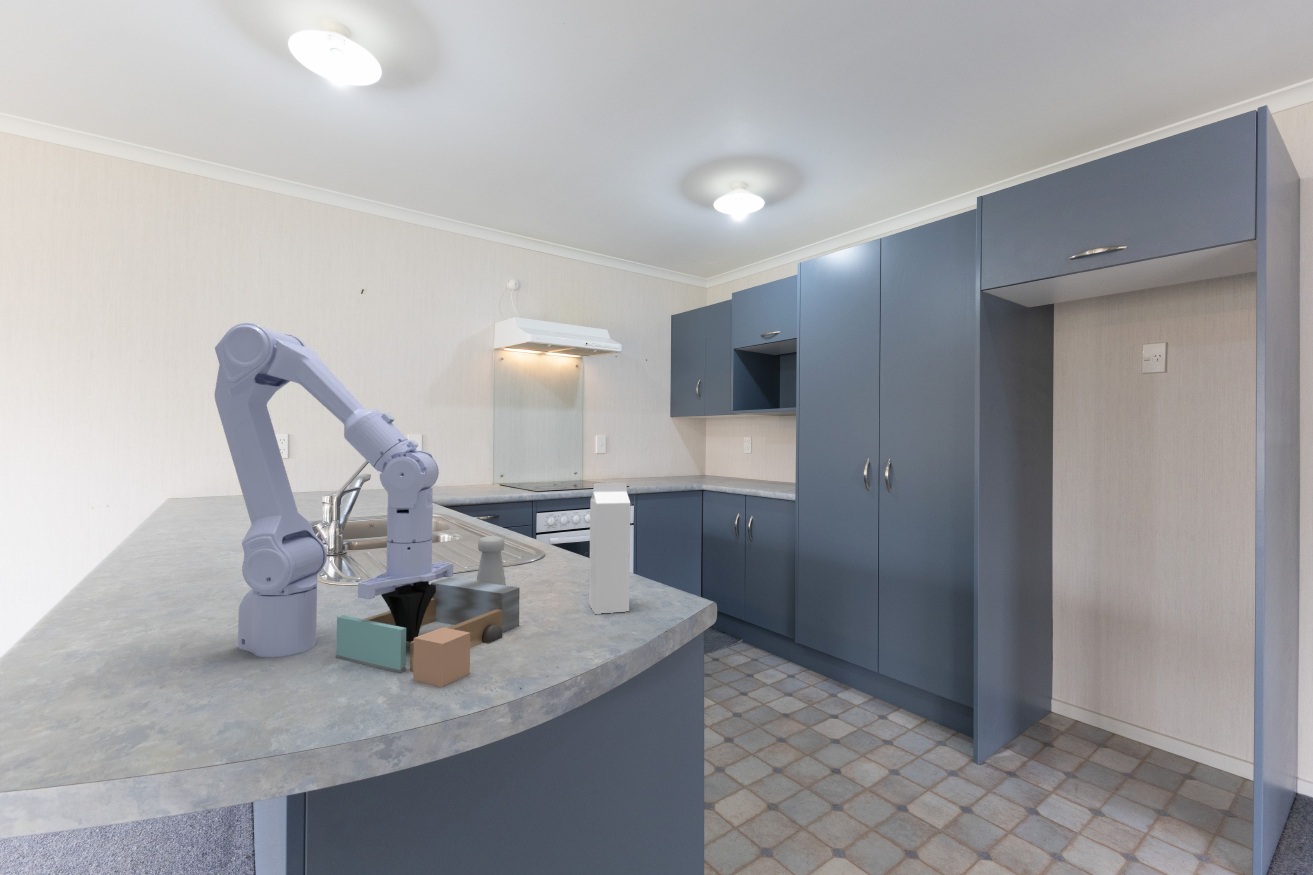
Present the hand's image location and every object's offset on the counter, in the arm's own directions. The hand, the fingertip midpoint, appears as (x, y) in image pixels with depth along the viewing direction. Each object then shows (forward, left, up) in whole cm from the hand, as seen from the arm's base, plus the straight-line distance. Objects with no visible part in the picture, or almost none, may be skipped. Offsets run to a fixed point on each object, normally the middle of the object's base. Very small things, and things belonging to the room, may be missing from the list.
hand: (408, 639), depth 81 cm
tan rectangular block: (+12, -5, -2) cm, 13 cm away
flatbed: (+1, +4, -2) cm, 5 cm away
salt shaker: (-2, +20, -2) cm, 20 cm away
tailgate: (+1, -6, -1) cm, 7 cm away
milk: (+14, +32, -2) cm, 34 cm away
